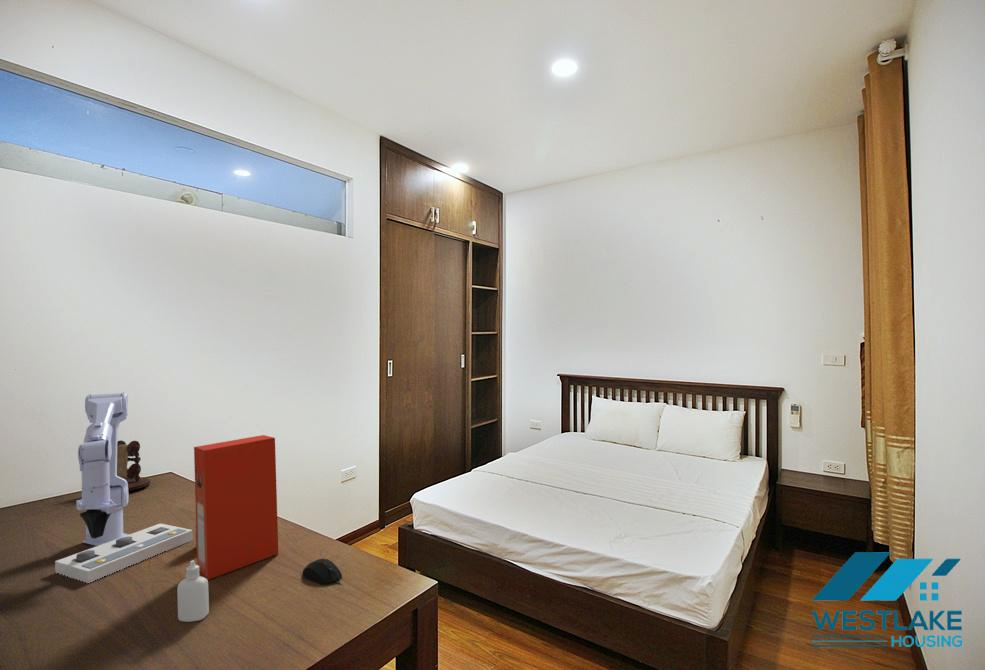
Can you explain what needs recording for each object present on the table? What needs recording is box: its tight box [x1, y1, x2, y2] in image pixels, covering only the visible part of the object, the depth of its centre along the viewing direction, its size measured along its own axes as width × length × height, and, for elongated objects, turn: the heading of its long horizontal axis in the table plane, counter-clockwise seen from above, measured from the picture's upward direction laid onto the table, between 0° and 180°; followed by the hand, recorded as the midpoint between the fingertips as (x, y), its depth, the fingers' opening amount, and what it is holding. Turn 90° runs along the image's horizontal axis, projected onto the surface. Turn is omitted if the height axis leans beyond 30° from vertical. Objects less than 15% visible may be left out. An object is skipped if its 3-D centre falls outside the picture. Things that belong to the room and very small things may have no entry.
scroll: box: [110, 440, 151, 493], centre depth 189 cm, size 15×15×20 cm
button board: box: [54, 523, 194, 584], centre depth 130 cm, size 15×26×3 cm, turn 157°
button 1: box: [76, 549, 95, 563], centre depth 122 cm, size 4×4×2 cm
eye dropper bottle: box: [176, 560, 210, 623], centre depth 99 cm, size 4×6×12 cm
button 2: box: [151, 528, 165, 535], centre depth 139 cm, size 4×4×2 cm
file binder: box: [193, 434, 279, 580], centre depth 124 cm, size 8×17×32 cm, turn 139°
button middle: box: [116, 536, 132, 548], centre depth 131 cm, size 4×4×2 cm
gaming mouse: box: [302, 558, 344, 586], centre depth 115 cm, size 6×15×4 cm, turn 53°
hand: (97, 536), depth 125 cm, fingers closed
